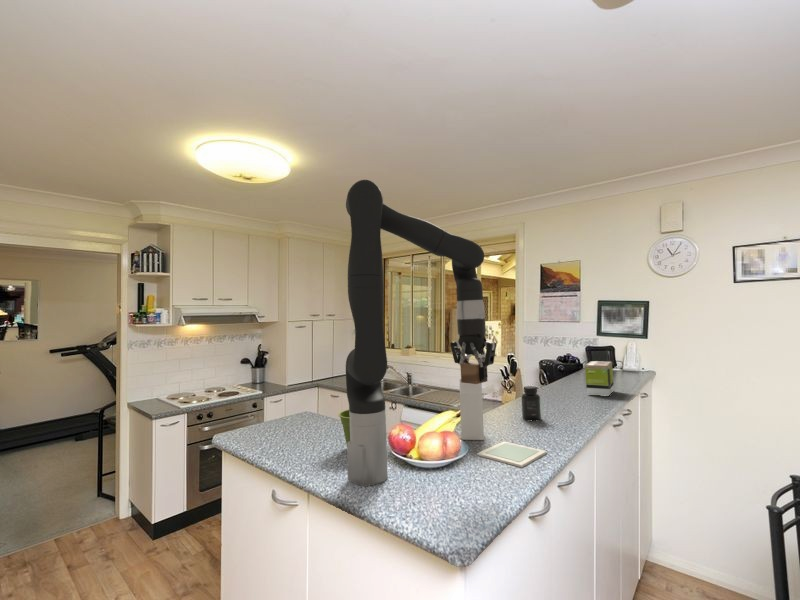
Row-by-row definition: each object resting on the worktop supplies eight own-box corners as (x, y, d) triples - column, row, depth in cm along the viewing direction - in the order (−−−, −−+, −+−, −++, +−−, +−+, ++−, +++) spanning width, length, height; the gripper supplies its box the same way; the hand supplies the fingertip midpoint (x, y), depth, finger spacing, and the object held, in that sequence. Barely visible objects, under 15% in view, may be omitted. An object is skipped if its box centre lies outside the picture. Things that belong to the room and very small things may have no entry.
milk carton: (483, 440, 127) (481, 381, 128) (461, 440, 128) (459, 381, 129) (483, 434, 134) (481, 377, 135) (462, 433, 135) (460, 377, 136)
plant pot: (343, 443, 129) (342, 408, 130) (379, 442, 129) (378, 407, 130) (336, 456, 118) (335, 417, 118) (376, 455, 117) (374, 416, 118)
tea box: (592, 390, 200) (590, 360, 201) (614, 391, 194) (612, 361, 195) (586, 395, 188) (584, 364, 189) (609, 397, 182) (608, 365, 183)
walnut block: (476, 384, 104) (475, 364, 104) (461, 382, 107) (460, 363, 108) (487, 381, 107) (486, 362, 107) (472, 379, 111) (471, 361, 111)
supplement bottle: (545, 419, 149) (543, 387, 150) (533, 422, 146) (532, 389, 146) (530, 415, 155) (528, 384, 155) (518, 418, 151) (517, 387, 152)
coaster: (521, 467, 104) (521, 464, 104) (477, 455, 114) (477, 452, 114) (546, 453, 114) (546, 450, 114) (503, 443, 124) (503, 440, 124)
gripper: (441, 318, 110) (445, 380, 110) (485, 317, 100) (489, 384, 100) (458, 317, 116) (461, 376, 115) (501, 316, 105) (505, 380, 105)
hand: (474, 379), depth 107 cm, fingers closed on walnut block, 5 cm apart
